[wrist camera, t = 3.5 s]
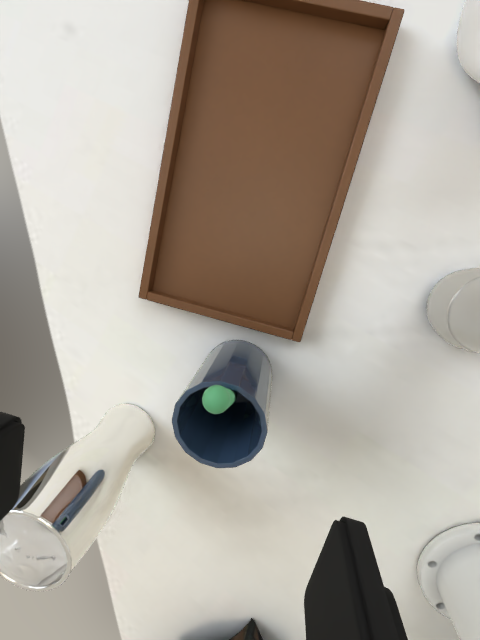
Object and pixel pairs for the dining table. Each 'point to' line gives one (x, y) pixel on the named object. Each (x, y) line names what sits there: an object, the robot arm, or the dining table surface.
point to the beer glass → (71, 500)
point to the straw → (218, 399)
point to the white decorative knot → (469, 39)
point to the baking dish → (248, 632)
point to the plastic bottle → (457, 309)
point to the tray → (262, 154)
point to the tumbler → (239, 419)
